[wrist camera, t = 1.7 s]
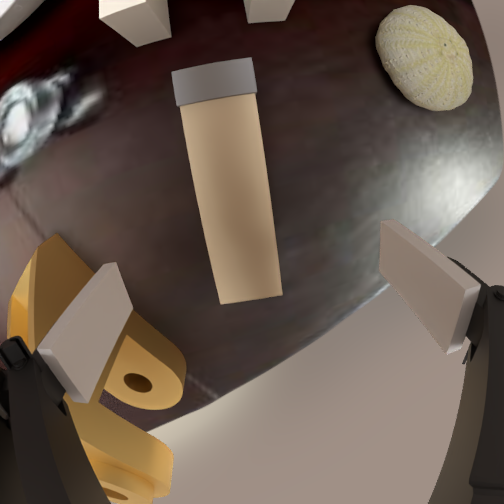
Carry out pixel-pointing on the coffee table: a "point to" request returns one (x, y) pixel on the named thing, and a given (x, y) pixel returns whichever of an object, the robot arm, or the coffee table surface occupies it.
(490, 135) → the coffee table surface
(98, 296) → the robot arm
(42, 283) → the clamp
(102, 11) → the white notched block
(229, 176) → the rail
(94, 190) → the coffee table surface
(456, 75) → the sea urchin shell
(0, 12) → the serving bowl
